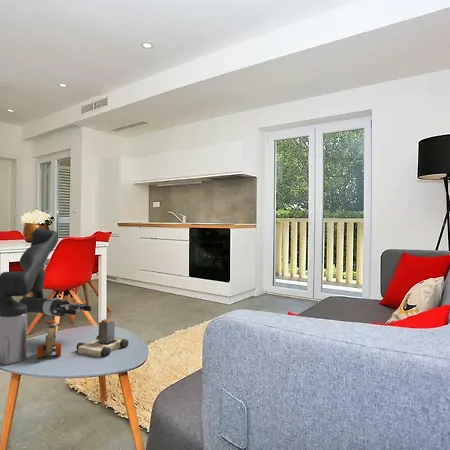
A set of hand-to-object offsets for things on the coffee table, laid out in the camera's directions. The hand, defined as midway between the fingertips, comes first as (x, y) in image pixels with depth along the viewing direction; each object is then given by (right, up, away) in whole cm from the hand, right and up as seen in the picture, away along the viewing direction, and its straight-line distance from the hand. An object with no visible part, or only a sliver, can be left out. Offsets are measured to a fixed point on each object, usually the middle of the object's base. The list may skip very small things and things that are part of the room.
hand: (83, 310), depth 154 cm
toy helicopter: (-9, -14, -11) cm, 20 cm away
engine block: (+12, -14, -5) cm, 19 cm away
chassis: (+11, -14, -7) cm, 19 cm away
